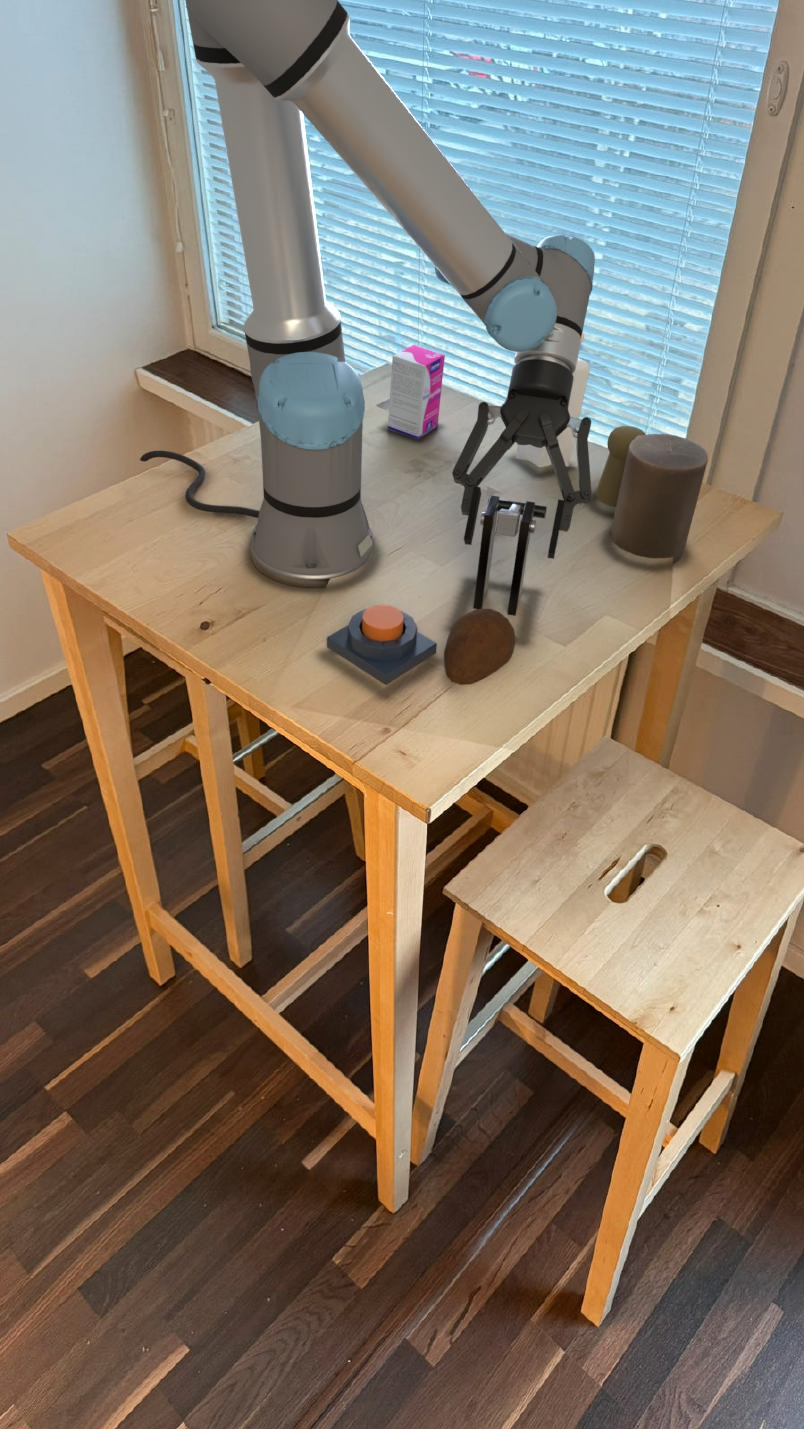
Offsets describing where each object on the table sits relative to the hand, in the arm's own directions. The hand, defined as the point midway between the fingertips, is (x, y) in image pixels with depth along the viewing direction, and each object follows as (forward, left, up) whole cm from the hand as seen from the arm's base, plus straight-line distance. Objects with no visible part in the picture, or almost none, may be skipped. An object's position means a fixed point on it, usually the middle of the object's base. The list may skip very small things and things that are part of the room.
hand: (509, 548), depth 123 cm
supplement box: (-35, +22, -5) cm, 41 cm away
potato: (+9, -16, -5) cm, 19 cm away
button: (0, -22, 0) cm, 23 cm away
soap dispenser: (-15, +28, -5) cm, 32 cm away
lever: (+1, -2, +5) cm, 5 cm away
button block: (0, -22, -4) cm, 23 cm away
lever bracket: (+3, -6, -4) cm, 8 cm away
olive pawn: (-1, +26, -5) cm, 26 cm away
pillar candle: (+8, +20, -5) cm, 22 cm away
